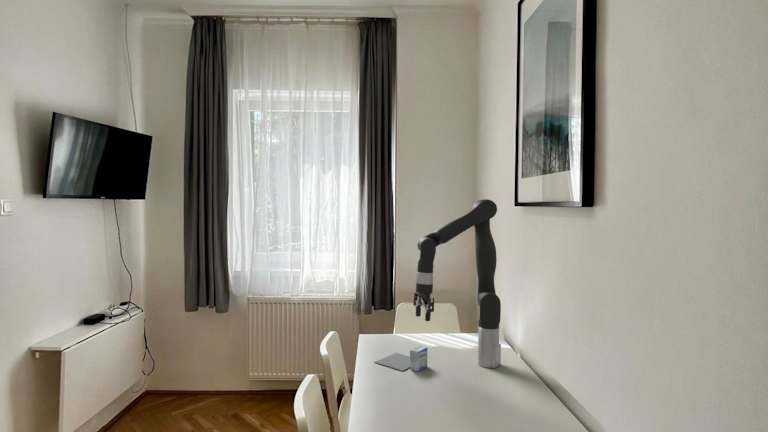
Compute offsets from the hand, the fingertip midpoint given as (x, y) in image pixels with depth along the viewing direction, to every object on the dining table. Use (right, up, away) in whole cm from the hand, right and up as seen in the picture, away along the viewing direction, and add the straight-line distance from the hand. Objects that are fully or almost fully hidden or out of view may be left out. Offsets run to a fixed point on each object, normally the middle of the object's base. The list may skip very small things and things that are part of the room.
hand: (422, 318), depth 183 cm
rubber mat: (-10, -22, +7) cm, 25 cm away
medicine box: (-2, -22, 0) cm, 22 cm away
